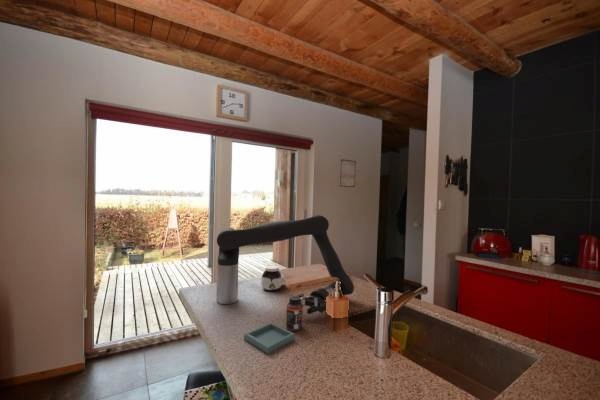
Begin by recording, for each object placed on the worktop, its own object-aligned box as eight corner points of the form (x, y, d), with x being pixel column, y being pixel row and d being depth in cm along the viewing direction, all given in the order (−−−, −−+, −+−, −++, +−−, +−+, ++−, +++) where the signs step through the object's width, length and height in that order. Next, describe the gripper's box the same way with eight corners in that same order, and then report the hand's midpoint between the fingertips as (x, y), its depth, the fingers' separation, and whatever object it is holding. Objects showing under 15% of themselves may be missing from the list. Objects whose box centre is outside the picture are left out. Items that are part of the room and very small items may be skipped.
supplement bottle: (300, 333, 98) (301, 301, 98) (284, 331, 99) (285, 299, 99) (303, 325, 104) (304, 295, 103) (288, 323, 105) (288, 294, 105)
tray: (244, 340, 92) (244, 333, 92) (271, 328, 101) (271, 322, 101) (267, 354, 84) (267, 347, 84) (294, 340, 93) (294, 333, 93)
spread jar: (260, 291, 140) (260, 268, 140) (266, 284, 151) (266, 263, 151) (282, 292, 138) (283, 269, 138) (287, 285, 149) (288, 264, 149)
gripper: (309, 284, 120) (285, 294, 108) (337, 292, 111) (314, 303, 99) (309, 301, 120) (284, 313, 108) (337, 310, 112) (314, 324, 99)
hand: (299, 308), depth 103 cm, fingers open, 8 cm apart
